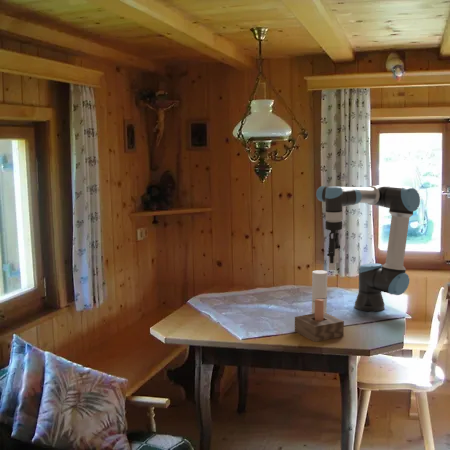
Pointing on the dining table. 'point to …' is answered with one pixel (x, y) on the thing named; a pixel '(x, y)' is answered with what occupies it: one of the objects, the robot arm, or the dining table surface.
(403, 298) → the dining table surface
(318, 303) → the peg
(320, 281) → the cylindrical container
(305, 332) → the socket block
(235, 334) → the dining table surface
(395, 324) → the dining table surface
